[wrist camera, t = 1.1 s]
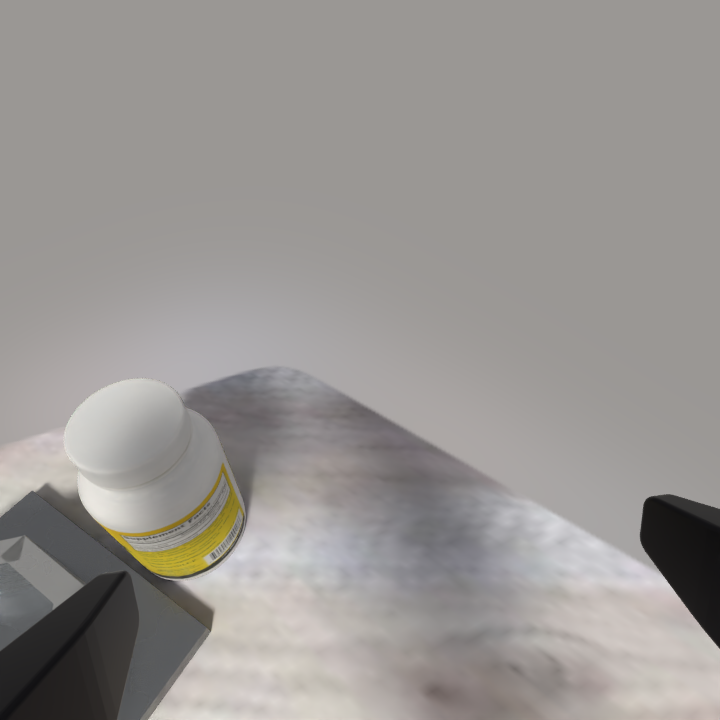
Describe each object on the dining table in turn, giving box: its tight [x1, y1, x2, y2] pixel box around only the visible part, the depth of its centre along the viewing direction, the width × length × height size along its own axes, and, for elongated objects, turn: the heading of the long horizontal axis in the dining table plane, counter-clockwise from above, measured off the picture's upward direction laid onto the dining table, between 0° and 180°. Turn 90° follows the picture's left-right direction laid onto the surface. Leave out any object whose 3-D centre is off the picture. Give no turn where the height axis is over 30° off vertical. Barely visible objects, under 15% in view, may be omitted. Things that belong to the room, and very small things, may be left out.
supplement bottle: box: [64, 378, 246, 581], centre depth 19 cm, size 5×5×10 cm
